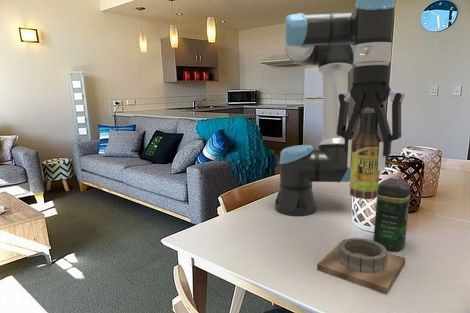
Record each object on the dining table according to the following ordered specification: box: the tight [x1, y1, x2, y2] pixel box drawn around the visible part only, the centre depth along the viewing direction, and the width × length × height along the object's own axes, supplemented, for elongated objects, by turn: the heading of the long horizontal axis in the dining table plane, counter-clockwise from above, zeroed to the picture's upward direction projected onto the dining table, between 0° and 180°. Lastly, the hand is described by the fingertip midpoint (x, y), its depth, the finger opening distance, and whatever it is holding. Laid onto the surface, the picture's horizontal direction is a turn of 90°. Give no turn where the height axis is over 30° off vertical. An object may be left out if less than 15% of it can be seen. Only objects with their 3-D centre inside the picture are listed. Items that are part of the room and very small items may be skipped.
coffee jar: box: [372, 177, 411, 251], centre depth 90 cm, size 10×8×19 cm
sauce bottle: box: [349, 110, 382, 200], centre depth 75 cm, size 6×6×20 cm
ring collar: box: [316, 237, 406, 295], centre depth 80 cm, size 16×16×5 cm
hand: (365, 167), depth 75 cm, fingers closed on sauce bottle, 6 cm apart
